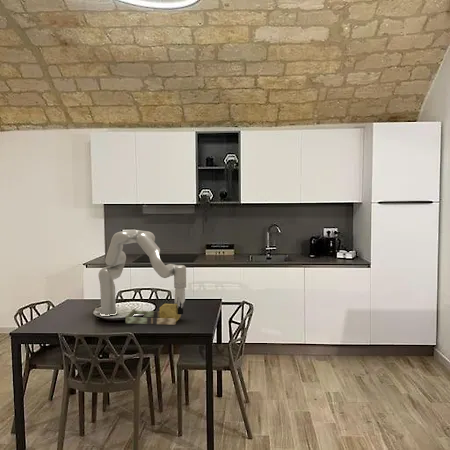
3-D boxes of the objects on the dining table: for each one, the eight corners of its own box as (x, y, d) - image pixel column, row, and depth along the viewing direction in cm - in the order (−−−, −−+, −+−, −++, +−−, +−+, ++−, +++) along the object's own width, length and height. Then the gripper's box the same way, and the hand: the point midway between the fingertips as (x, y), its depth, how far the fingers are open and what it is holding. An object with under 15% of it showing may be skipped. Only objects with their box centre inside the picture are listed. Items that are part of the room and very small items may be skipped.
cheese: (175, 323, 295) (175, 307, 294) (158, 322, 297) (158, 306, 296) (180, 319, 305) (180, 303, 304) (164, 318, 307) (163, 302, 306)
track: (125, 323, 296) (125, 316, 295) (133, 316, 312) (133, 309, 311) (175, 324, 292) (175, 317, 292) (180, 317, 308) (180, 310, 308)
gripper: (176, 282, 306) (177, 310, 307) (171, 287, 291) (172, 317, 293) (188, 282, 305) (188, 311, 307) (183, 287, 290) (184, 317, 292)
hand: (180, 314), depth 300 cm, fingers closed
